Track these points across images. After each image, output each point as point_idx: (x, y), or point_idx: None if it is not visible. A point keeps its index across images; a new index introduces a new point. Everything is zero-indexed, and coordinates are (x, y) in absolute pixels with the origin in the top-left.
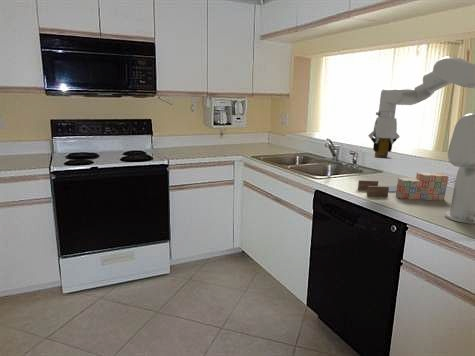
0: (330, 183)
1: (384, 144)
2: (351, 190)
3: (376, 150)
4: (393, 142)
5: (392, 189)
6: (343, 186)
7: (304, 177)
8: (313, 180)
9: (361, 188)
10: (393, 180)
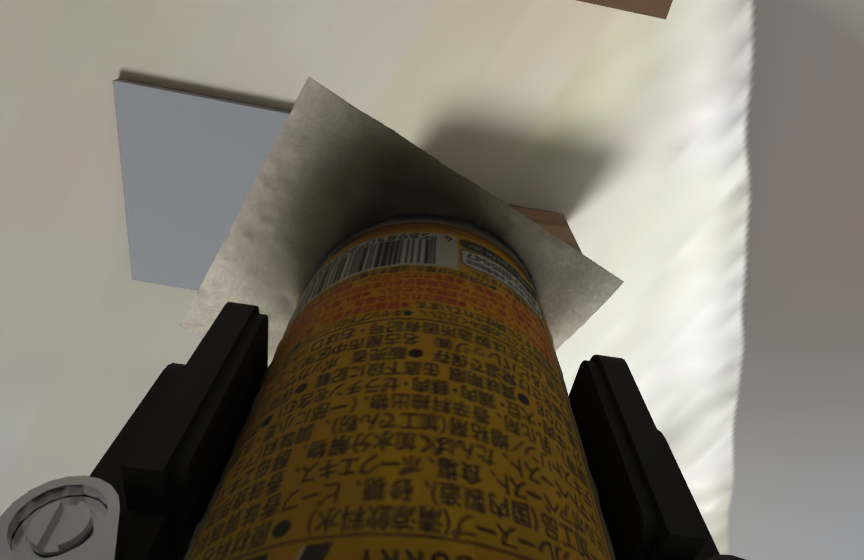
0: (654, 412)
1: (472, 443)
2: (637, 210)
3: (628, 371)
4: (4, 523)
5: (239, 174)
6: (613, 329)
7: (723, 550)
8: (721, 487)
9: (541, 215)
10: (78, 440)
